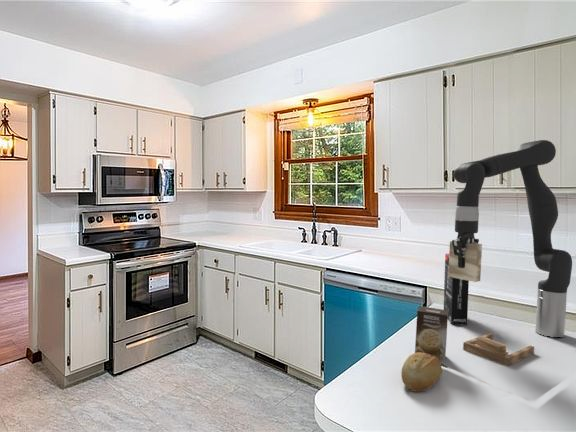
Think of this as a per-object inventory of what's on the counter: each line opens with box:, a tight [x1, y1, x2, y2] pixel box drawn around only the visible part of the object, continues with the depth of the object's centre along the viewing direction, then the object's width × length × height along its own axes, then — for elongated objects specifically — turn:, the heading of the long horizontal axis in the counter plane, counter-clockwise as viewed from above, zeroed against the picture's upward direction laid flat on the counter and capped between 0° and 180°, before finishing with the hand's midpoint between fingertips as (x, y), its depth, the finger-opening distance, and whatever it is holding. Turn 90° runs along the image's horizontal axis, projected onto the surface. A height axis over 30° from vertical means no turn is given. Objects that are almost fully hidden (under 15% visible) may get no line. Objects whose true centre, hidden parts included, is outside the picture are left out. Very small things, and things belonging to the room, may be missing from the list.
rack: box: [462, 332, 535, 367], centre depth 124 cm, size 17×14×4 cm
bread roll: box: [400, 352, 443, 392], centre depth 103 cm, size 10×15×8 cm, turn 143°
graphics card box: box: [443, 253, 470, 326], centre depth 160 cm, size 17×7×27 cm, turn 168°
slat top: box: [476, 336, 507, 353], centre depth 121 cm, size 4×8×2 cm, turn 24°
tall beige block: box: [448, 240, 483, 283], centre depth 134 cm, size 4×10×13 cm, turn 35°
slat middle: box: [475, 344, 509, 356], centre depth 121 cm, size 4×9×2 cm, turn 35°
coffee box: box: [414, 305, 449, 367], centre depth 118 cm, size 9×6×16 cm
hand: (464, 266), depth 134 cm, fingers closed on tall beige block, 3 cm apart
